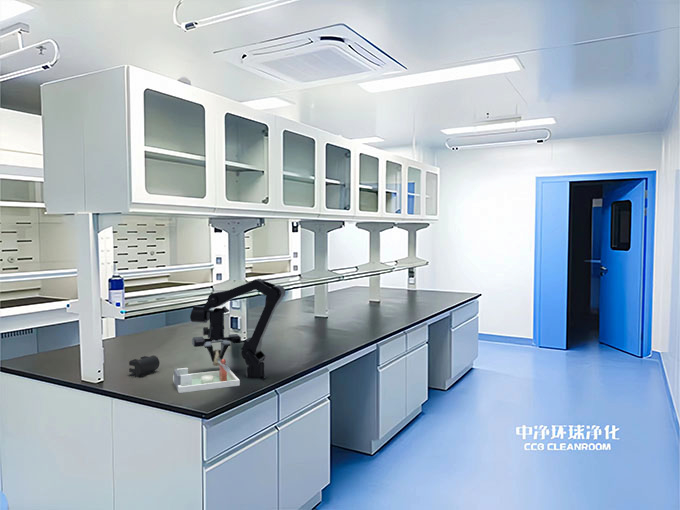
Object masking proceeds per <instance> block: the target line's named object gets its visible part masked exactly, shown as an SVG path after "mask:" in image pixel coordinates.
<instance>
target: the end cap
mask: <svg viewBox="0 0 680 510" xmlns="http://www.w3.org/2000/svg"><path fill="white" fill-rule="evenodd" d="M128 365H129V366H130V367H129V369H128V372H129V376H130V377H136V378H139V377H141V376H144V375H148V374H150V373H153V372H155V371H156V370H158V369H159V367H160V360H159V358H158V356H157V355H151V356H150V355H149V356H147V355H146V356H145V355H144V356H141V357H140V358H139V359H137V358H134V359H131V360H129V361H128ZM131 366H133V367H134V368H131Z"/></svg>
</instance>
